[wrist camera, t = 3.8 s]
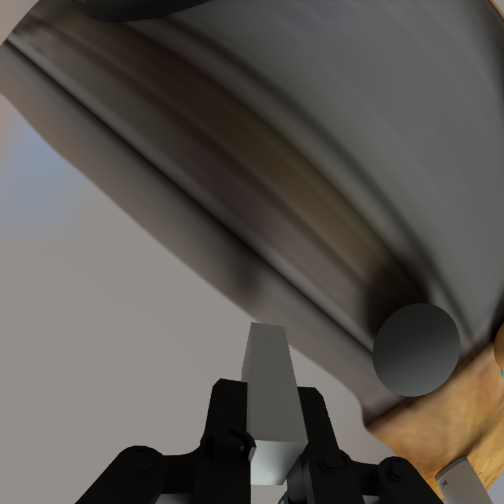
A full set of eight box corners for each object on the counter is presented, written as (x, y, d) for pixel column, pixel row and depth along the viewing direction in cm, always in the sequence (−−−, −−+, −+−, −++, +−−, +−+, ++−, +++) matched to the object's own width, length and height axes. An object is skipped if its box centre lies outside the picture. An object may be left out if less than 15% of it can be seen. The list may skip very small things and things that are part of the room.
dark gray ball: (371, 287, 15) (419, 333, 9) (439, 290, 15) (490, 325, 9) (350, 364, 16) (378, 422, 11) (415, 359, 16) (451, 405, 11)
